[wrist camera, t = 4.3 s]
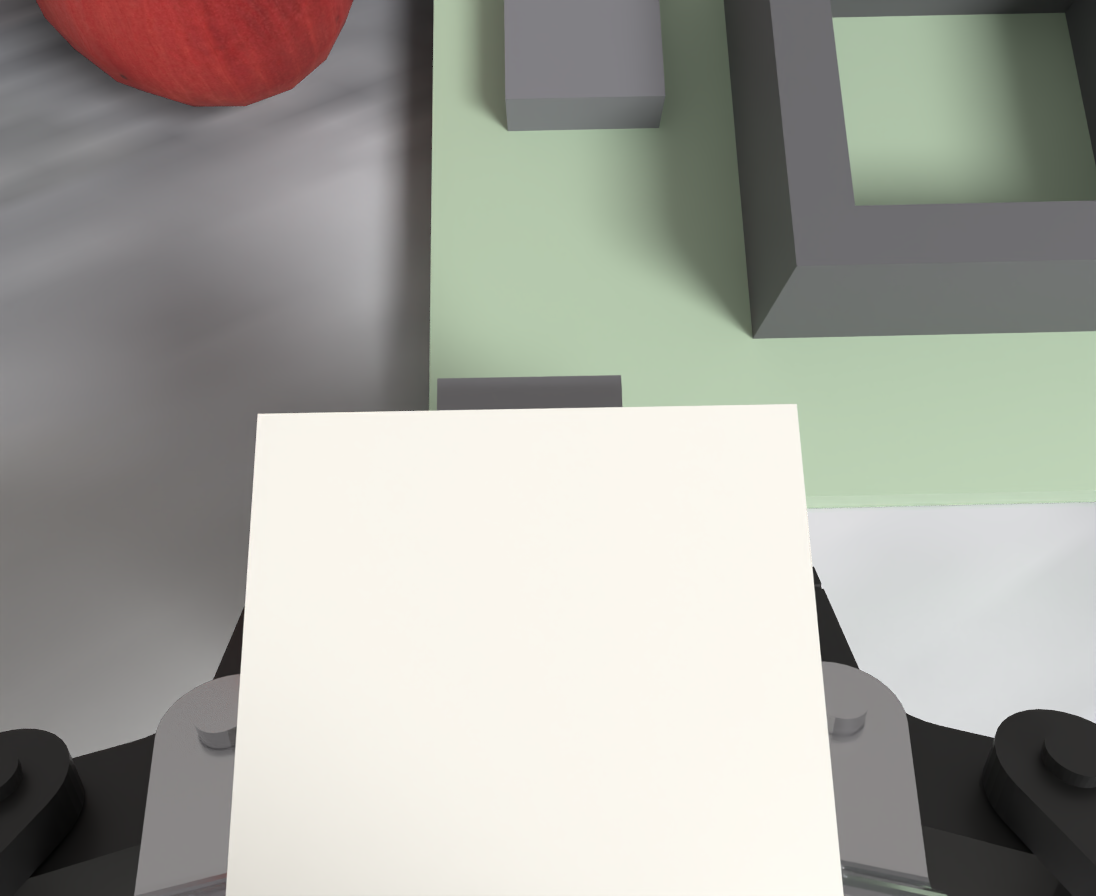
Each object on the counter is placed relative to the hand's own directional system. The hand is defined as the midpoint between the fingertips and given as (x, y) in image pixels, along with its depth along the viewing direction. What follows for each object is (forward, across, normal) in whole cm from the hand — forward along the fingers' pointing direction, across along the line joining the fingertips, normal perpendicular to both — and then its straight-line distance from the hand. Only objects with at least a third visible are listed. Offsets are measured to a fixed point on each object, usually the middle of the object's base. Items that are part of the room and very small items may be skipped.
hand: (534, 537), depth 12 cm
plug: (+2, 0, +4) cm, 5 cm away
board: (+9, -8, -3) cm, 12 cm away
